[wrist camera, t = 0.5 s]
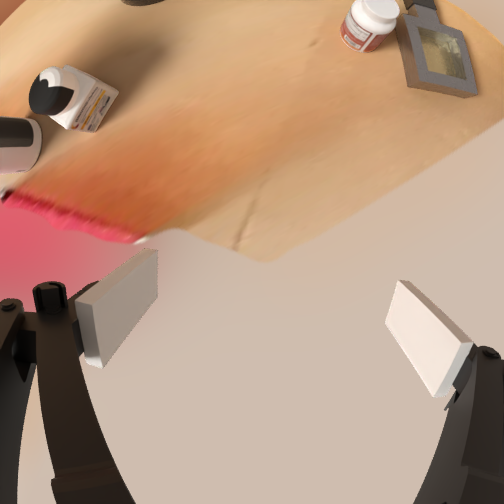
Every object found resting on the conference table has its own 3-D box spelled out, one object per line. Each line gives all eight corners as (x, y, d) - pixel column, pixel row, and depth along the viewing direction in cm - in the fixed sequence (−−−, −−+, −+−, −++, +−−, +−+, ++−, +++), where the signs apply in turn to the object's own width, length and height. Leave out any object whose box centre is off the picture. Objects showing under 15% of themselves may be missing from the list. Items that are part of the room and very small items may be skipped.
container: (94, 134, 38) (42, 127, 25) (67, 114, 37) (15, 105, 24) (120, 92, 36) (73, 70, 23) (91, 75, 35) (43, 54, 22)
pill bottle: (375, 25, 31) (401, -7, 20) (378, 57, 33) (409, 29, 22) (337, 18, 31) (355, -19, 20) (339, 50, 33) (361, 16, 22)
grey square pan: (378, -22, 27) (385, -33, 24) (434, -7, 27) (443, -16, 23) (407, 87, 33) (419, 80, 30) (464, 98, 33) (477, 94, 29)
